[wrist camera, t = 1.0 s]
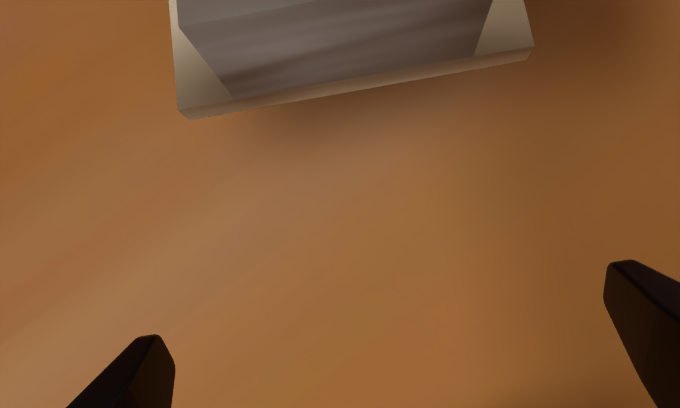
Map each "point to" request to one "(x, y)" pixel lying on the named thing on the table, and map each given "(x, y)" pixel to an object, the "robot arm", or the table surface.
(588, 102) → the table surface
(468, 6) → the lid
